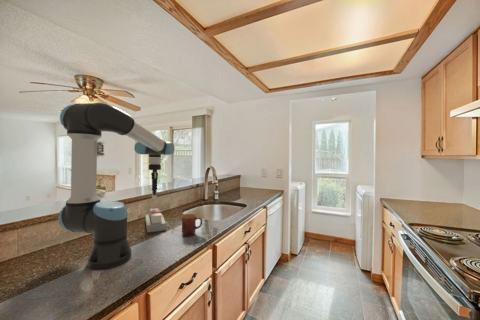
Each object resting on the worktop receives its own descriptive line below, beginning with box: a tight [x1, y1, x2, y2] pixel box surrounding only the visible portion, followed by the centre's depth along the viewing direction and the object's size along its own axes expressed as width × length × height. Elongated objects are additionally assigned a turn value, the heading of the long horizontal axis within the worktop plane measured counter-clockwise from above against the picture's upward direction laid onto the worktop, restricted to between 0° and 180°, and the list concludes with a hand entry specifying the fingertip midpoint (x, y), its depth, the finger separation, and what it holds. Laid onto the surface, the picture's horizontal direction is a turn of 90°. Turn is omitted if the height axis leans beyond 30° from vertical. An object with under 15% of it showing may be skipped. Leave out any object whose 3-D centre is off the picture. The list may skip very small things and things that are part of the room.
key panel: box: [145, 212, 167, 233], centre depth 126 cm, size 10×23×4 cm, turn 27°
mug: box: [180, 213, 203, 237], centre depth 112 cm, size 12×9×10 cm
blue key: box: [149, 207, 160, 217], centre depth 133 cm, size 5×5×4 cm
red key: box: [151, 209, 161, 214], centre depth 126 cm, size 5×5×4 cm
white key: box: [151, 212, 161, 224], centre depth 119 cm, size 5×5×4 cm
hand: (154, 199), depth 132 cm, fingers closed
